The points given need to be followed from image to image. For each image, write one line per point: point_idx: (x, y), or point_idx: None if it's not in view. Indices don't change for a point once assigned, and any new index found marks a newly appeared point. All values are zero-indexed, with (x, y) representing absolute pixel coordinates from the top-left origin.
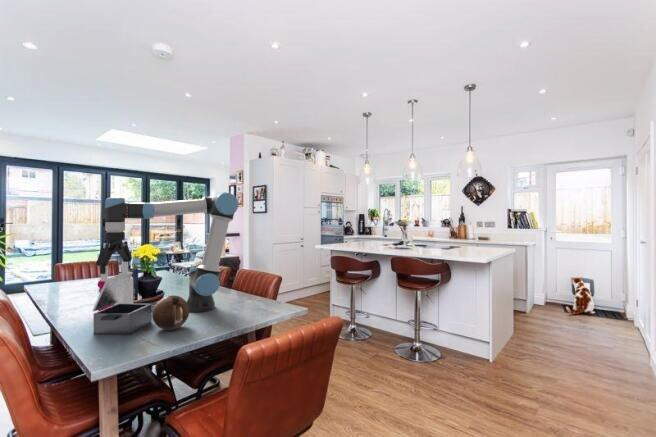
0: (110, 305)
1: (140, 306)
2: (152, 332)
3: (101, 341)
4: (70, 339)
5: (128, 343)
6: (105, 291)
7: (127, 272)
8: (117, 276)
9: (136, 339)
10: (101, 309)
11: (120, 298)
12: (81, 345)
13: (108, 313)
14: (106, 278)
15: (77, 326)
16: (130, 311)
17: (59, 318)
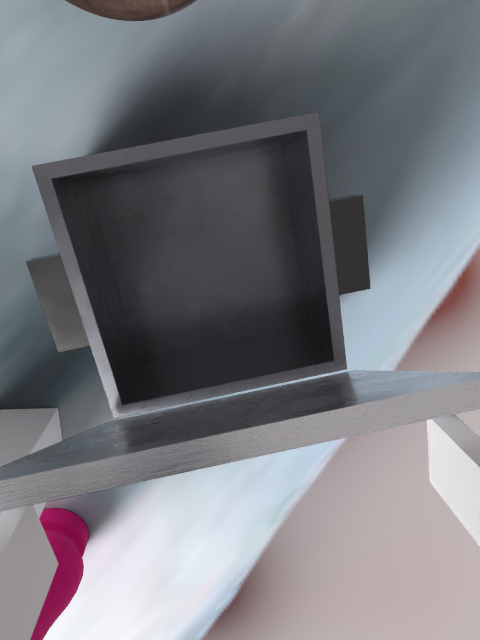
0: None
1: (79, 247)
2: (222, 15)
3: (389, 201)
4: (384, 362)
5: (398, 24)
6: (374, 379)
7: (3, 539)
8: (314, 420)
9: (340, 26)
10: (76, 548)
11: (105, 424)
12: (442, 249)
13: (334, 277)
14: (475, 433)
15: (240, 483)
16: (110, 311)
17: (174, 634)
